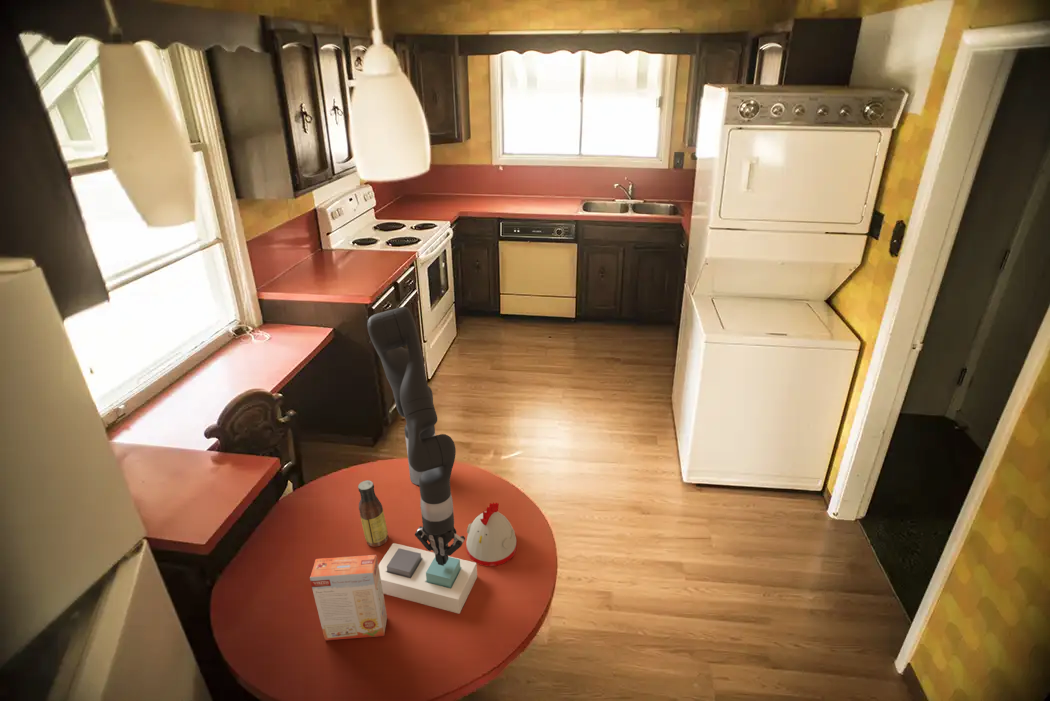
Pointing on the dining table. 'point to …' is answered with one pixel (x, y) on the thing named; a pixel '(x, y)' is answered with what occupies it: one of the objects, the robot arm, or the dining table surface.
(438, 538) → the robot arm
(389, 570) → the charcoal key
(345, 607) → the cracker box
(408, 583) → the key housing
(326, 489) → the dining table surface
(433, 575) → the teal key
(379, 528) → the sauce bottle
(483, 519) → the kitchen timer
